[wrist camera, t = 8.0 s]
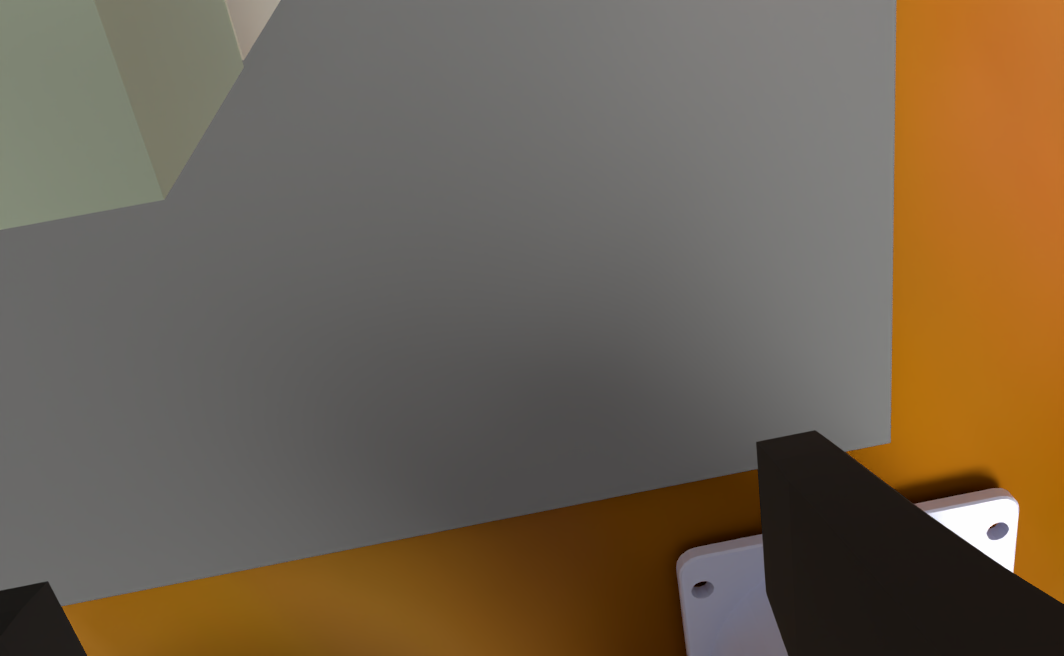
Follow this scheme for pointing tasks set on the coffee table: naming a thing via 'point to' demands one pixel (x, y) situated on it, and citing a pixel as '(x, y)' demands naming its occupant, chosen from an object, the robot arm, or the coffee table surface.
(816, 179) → the mat
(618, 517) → the coffee table surface
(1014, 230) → the coffee table surface
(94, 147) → the sage brick
